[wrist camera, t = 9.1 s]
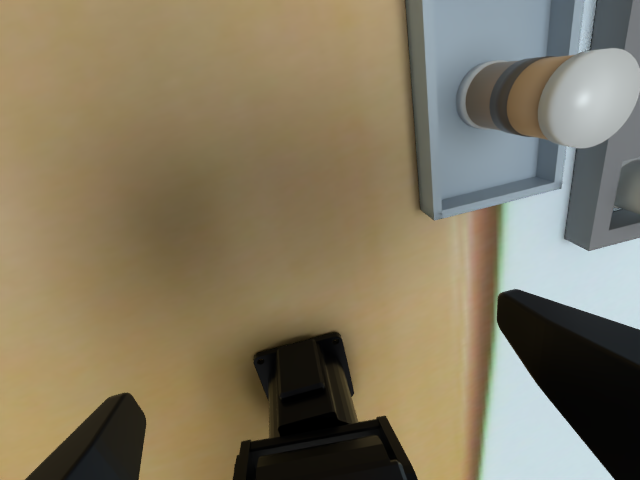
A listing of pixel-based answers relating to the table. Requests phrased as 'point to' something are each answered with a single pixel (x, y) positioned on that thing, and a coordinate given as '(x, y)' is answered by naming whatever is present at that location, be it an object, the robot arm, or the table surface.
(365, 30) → the table surface
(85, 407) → the table surface
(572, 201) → the fuse block
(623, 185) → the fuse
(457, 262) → the table surface
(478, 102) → the fuse
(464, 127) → the parts tray
